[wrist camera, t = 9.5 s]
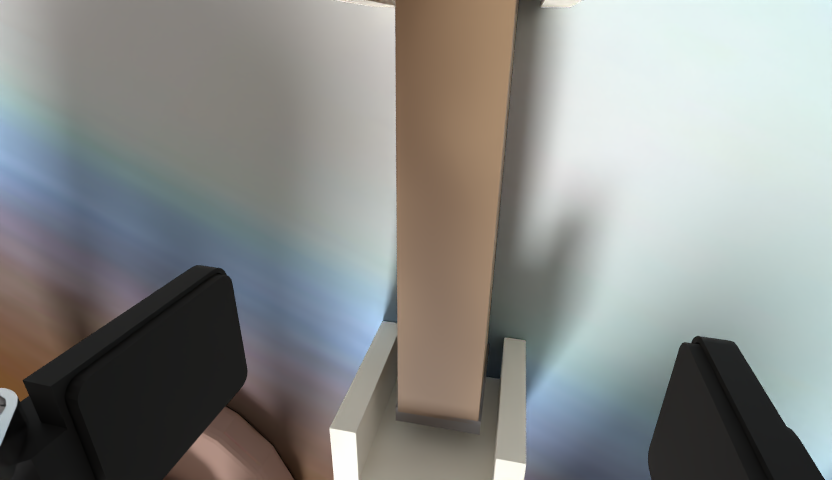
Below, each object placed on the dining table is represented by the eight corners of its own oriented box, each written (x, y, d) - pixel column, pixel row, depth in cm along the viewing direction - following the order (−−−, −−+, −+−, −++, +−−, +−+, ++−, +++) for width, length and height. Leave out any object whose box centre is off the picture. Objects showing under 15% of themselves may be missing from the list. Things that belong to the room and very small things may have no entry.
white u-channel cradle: (594, -178, 14) (651, -350, 8) (515, 419, 24) (511, 557, 18) (371, -163, 15) (264, -298, 9) (384, 398, 25) (337, 519, 19)
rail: (524, -32, 16) (524, -56, 11) (488, 355, 23) (479, 434, 18) (427, -30, 16) (391, -53, 12) (420, 345, 23) (395, 420, 19)
